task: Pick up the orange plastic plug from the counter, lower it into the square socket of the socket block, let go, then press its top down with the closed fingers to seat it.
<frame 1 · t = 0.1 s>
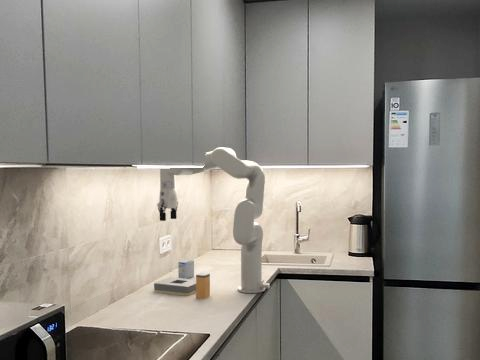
hand: (168, 219, 242), 31 cm above the worktop, fingers open, 9 cm apart
plug: (203, 296, 212), on the worktop
medicine box: (186, 278, 252), on the worktop
socket block: (179, 290, 224), on the worktop
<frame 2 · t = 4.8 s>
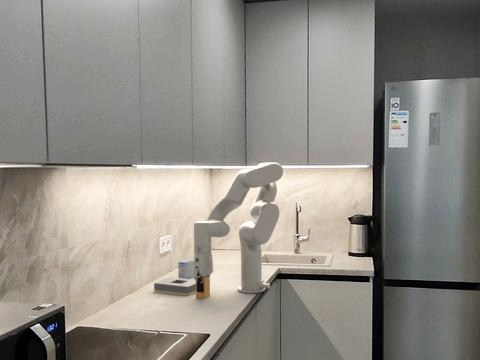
hand: (203, 290, 212), 3 cm above the worktop, fingers closed on plug, 4 cm apart
plug: (203, 296, 212), on the worktop, touching gripper
everything else where it was.
when the fingers open (5 cm above the worktop, at t = 10.2 s): plug drops 1 cm, resting on socket block.
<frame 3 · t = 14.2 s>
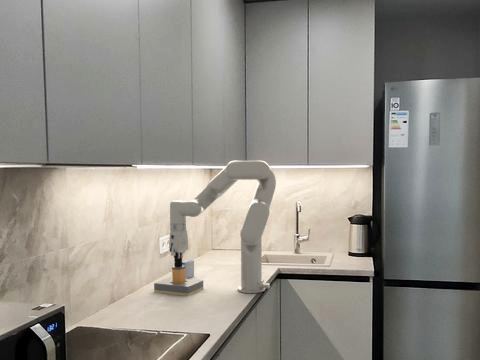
hand: (178, 266, 224), 11 cm above the worktop, fingers closed
plug: (179, 288, 224), point 1 cm above the worktop, touching gripper, socket block
everything else where it was.
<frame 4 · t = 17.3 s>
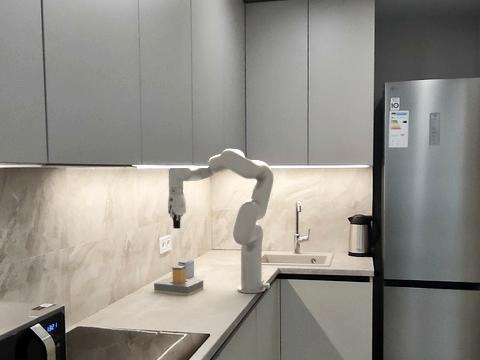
hand: (176, 228, 240), 27 cm above the worktop, fingers closed
plug: (179, 288, 224), point 1 cm above the worktop, touching socket block
everything else where it was.
at the end: plug 0.1 cm off-centre on the socket block, point 1.0 cm above the socket block's base; plug tilted 0°; the gripper is holding nothing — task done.
